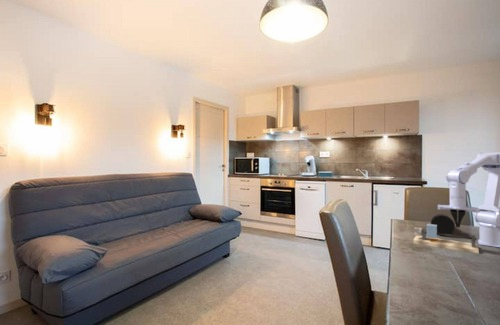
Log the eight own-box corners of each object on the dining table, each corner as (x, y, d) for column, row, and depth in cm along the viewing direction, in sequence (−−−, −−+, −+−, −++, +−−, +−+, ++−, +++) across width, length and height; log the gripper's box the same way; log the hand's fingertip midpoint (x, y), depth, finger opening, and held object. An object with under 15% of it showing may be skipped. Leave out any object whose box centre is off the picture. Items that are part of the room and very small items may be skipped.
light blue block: (437, 236, 126) (436, 224, 126) (436, 238, 123) (436, 226, 123) (427, 235, 128) (427, 223, 128) (426, 237, 125) (426, 225, 125)
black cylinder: (444, 230, 163) (453, 217, 161) (448, 239, 135) (459, 222, 133) (427, 221, 168) (435, 208, 166) (427, 227, 140) (437, 211, 138)
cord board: (477, 247, 119) (476, 233, 119) (478, 253, 111) (478, 238, 111) (415, 238, 134) (415, 225, 134) (413, 243, 126) (413, 229, 126)
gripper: (437, 196, 117) (437, 226, 118) (479, 199, 108) (480, 231, 109) (437, 194, 123) (438, 223, 123) (478, 197, 114) (478, 227, 114)
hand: (457, 226), depth 116 cm, fingers closed
